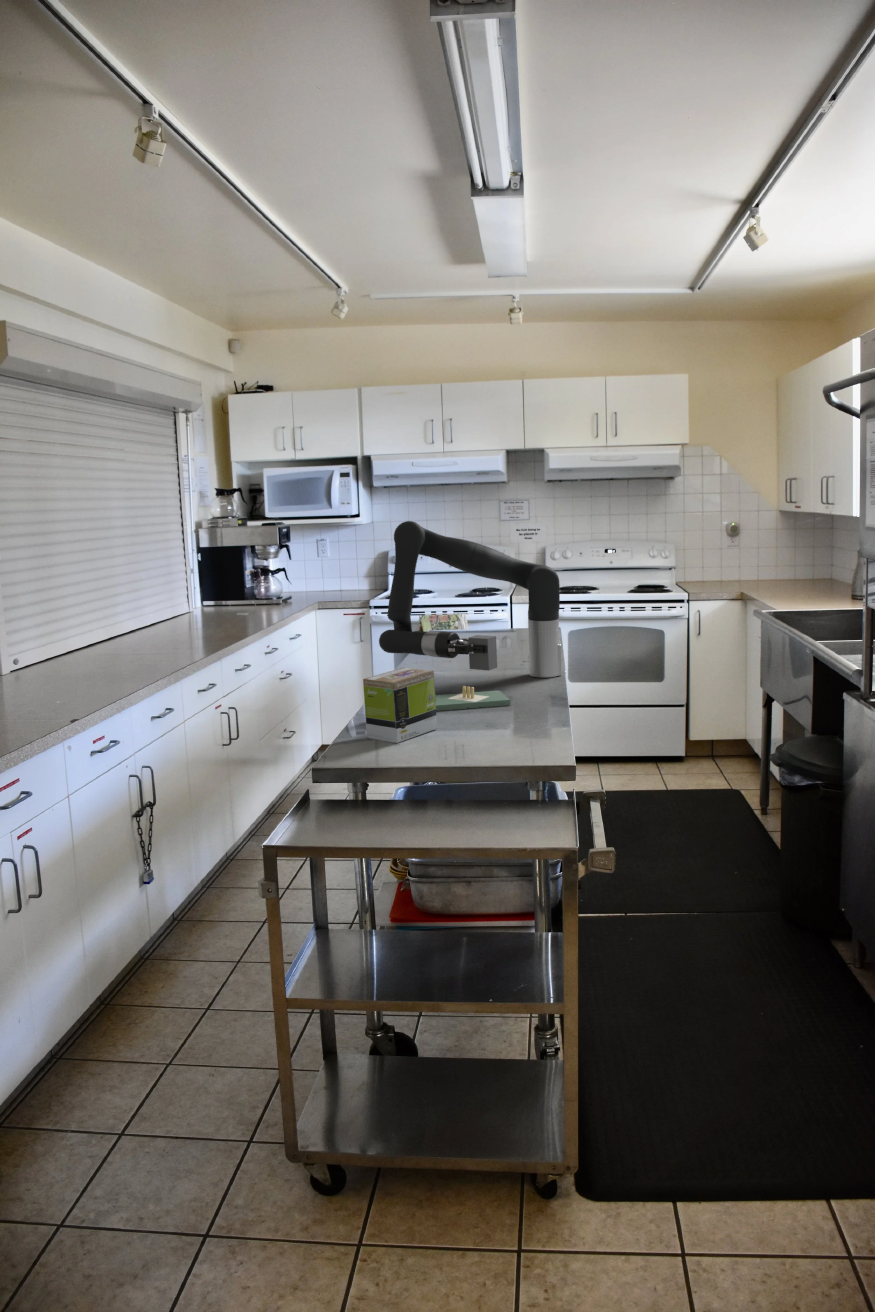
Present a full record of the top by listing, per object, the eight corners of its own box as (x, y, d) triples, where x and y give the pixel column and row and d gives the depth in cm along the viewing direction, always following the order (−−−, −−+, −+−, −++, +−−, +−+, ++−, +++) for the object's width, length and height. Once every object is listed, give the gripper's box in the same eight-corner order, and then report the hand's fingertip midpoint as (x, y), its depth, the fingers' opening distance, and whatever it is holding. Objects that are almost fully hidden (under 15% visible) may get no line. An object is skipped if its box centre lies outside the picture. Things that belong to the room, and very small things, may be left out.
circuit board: (499, 695, 261) (498, 679, 261) (510, 705, 250) (509, 688, 249) (428, 701, 258) (427, 685, 257) (436, 711, 246) (435, 694, 245)
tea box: (406, 724, 234) (404, 666, 231) (438, 730, 227) (436, 670, 225) (365, 738, 222) (361, 677, 220) (396, 744, 216) (394, 681, 213)
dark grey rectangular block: (469, 668, 266) (468, 637, 265) (478, 666, 270) (476, 635, 268) (489, 670, 263) (487, 638, 261) (497, 667, 266) (496, 636, 265)
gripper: (425, 635, 267) (477, 638, 257) (453, 627, 278) (503, 630, 269) (427, 661, 268) (478, 665, 259) (454, 652, 280) (504, 656, 270)
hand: (490, 647), depth 264 cm, fingers closed on dark grey rectangular block, 4 cm apart
